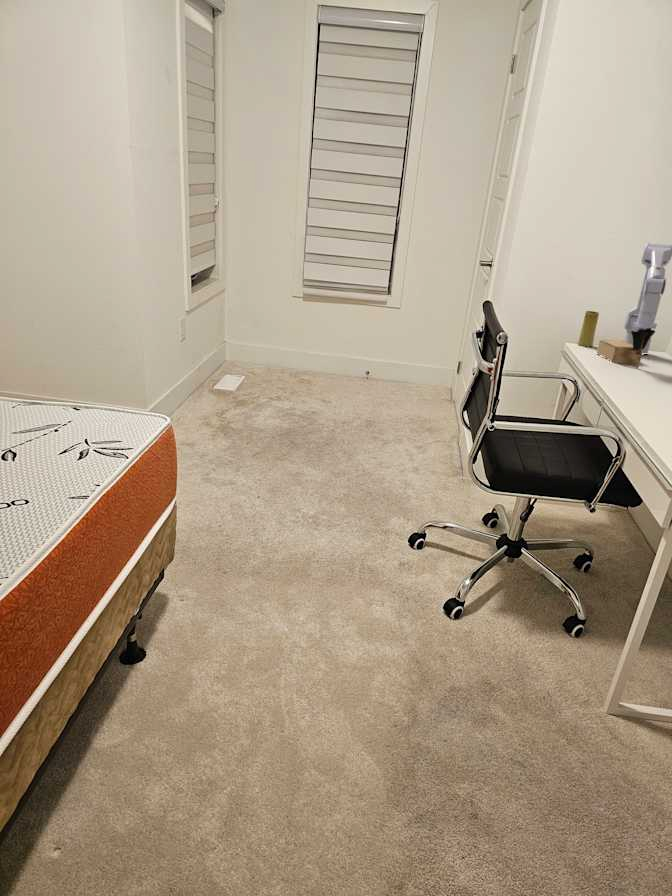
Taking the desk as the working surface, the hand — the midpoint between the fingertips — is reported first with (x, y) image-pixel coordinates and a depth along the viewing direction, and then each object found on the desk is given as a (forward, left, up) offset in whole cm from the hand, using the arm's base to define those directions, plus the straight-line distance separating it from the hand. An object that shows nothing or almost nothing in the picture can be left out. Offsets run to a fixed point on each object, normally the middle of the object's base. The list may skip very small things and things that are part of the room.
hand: (638, 349), depth 226 cm
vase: (-1, -36, -8) cm, 37 cm away
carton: (-2, -14, -7) cm, 16 cm away
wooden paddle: (+2, -4, -7) cm, 8 cm away
